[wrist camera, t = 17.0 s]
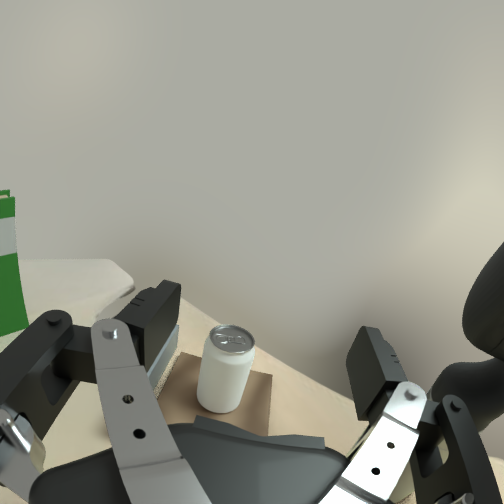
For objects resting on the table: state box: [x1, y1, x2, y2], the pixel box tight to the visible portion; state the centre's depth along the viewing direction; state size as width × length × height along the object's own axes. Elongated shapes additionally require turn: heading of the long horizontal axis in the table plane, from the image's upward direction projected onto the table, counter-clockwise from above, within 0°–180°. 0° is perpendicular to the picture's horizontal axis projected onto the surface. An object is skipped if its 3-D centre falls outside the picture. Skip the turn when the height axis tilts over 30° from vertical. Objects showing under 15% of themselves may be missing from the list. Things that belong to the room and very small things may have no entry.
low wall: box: [147, 324, 179, 391], centre depth 36 cm, size 1×22×5 cm, turn 174°
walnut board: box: [157, 352, 272, 436], centre depth 37 cm, size 16×16×1 cm
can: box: [197, 325, 255, 413], centre depth 35 cm, size 6×6×12 cm
